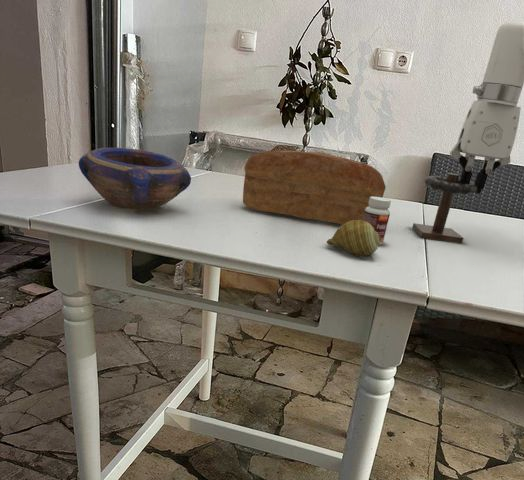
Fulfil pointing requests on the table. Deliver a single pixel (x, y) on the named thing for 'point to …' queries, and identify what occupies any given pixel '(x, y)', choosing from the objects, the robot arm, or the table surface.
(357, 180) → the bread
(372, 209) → the pill bottle
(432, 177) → the ring
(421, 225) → the stand
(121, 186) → the bowl
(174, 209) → the table surface
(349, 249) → the seashell
